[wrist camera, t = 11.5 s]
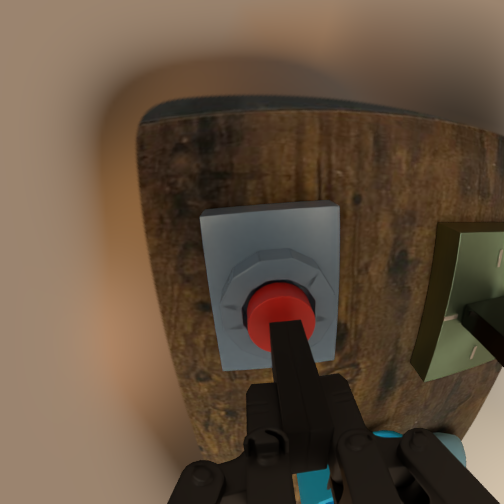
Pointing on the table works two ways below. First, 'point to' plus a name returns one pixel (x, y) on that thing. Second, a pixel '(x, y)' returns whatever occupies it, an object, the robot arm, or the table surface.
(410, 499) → the robot arm
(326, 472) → the mug
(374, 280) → the table surface
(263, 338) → the button
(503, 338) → the black slab
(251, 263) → the button housing
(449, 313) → the dial panel
